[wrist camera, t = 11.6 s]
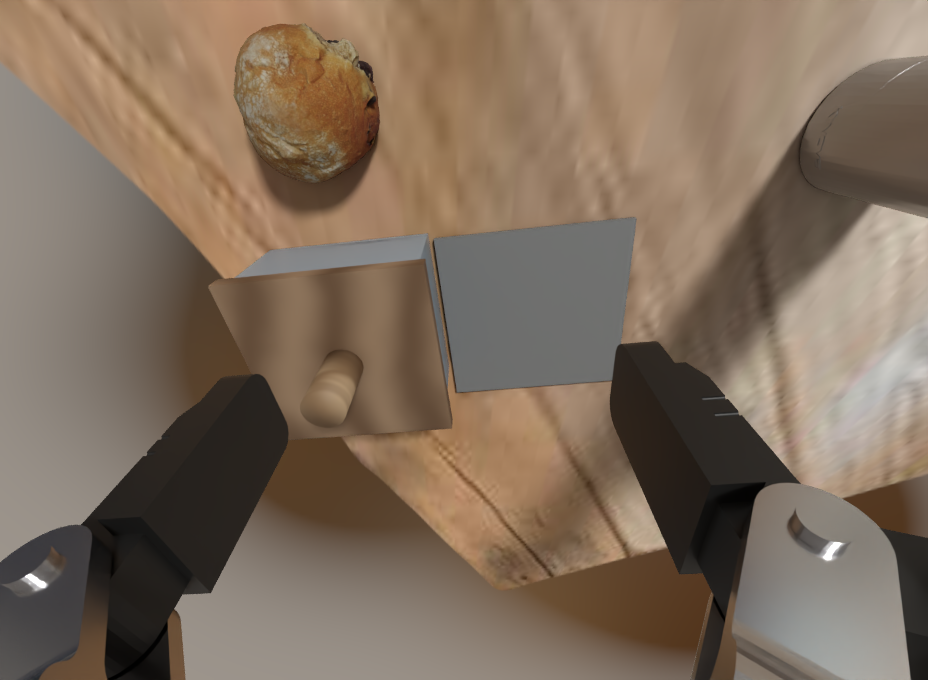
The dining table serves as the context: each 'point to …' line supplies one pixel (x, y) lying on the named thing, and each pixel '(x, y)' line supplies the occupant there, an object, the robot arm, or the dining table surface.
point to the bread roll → (305, 101)
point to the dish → (355, 264)
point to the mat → (535, 303)
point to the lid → (343, 347)
